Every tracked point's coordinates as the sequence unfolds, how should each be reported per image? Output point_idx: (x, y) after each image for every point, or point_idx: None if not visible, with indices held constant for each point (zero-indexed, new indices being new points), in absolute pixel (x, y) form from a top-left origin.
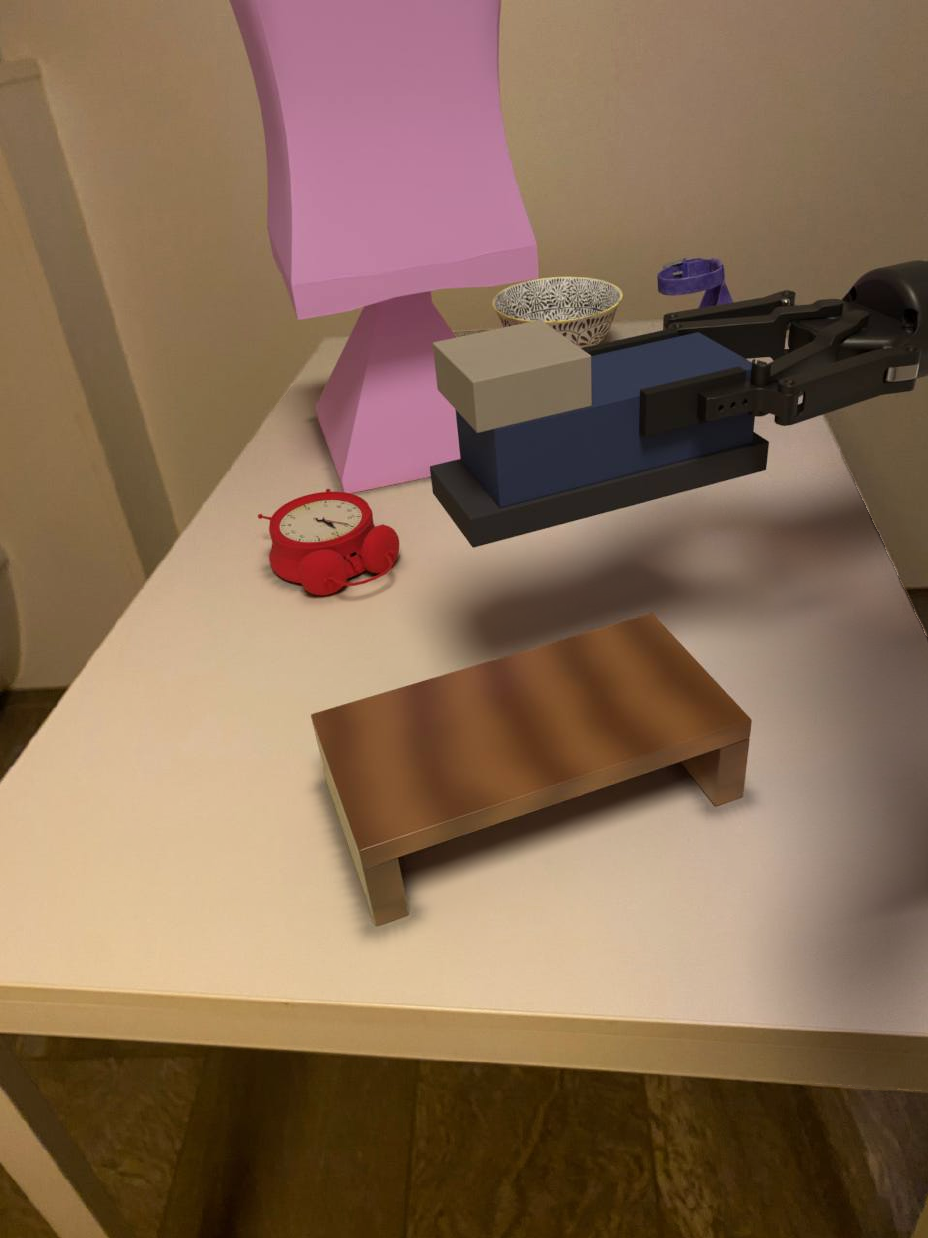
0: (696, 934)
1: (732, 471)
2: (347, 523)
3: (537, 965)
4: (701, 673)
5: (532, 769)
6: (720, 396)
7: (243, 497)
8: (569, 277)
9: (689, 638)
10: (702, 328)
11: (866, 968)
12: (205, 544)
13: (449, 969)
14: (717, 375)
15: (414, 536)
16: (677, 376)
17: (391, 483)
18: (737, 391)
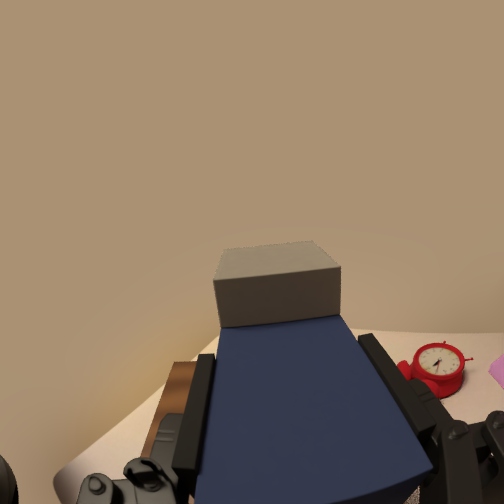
0: (113, 460)
1: None
2: (437, 370)
3: (139, 420)
4: None
5: (168, 410)
6: (159, 425)
7: (475, 339)
8: None
9: None
10: (445, 472)
11: (67, 486)
12: (437, 338)
13: (156, 402)
14: (185, 428)
15: (455, 409)
16: (239, 402)
17: (502, 386)
18: (155, 448)
